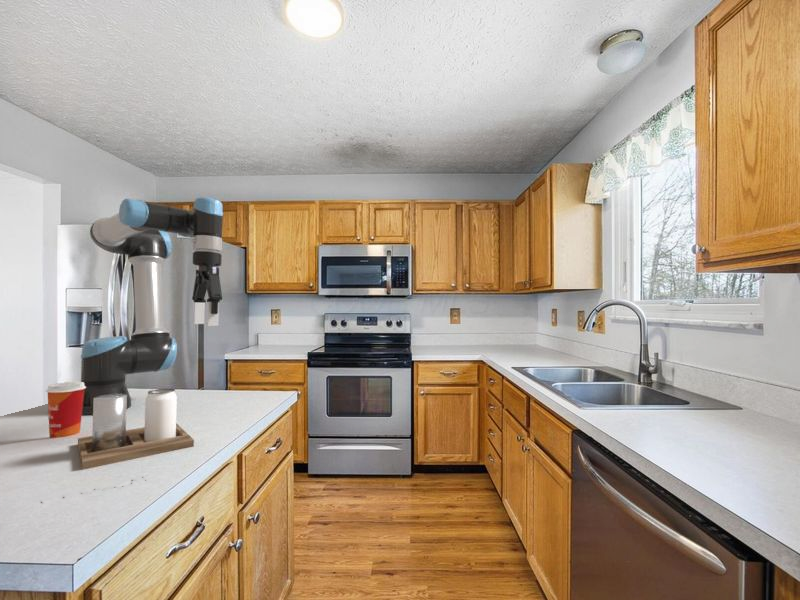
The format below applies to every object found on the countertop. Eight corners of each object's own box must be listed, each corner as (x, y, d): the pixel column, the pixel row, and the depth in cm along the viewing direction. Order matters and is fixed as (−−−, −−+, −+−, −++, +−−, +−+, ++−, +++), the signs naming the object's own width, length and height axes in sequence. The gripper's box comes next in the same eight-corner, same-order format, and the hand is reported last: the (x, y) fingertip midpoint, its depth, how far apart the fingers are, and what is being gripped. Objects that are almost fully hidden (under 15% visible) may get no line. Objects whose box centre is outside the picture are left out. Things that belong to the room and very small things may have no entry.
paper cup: (45, 438, 97) (47, 383, 98) (84, 432, 102) (86, 380, 102) (42, 447, 91) (45, 388, 92) (84, 440, 96) (86, 384, 96)
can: (137, 445, 90) (139, 393, 90) (155, 435, 96) (157, 387, 96) (164, 445, 89) (166, 393, 90) (181, 436, 96) (182, 388, 96)
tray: (77, 451, 89) (77, 438, 89) (175, 433, 103) (175, 422, 103) (82, 477, 76) (82, 461, 76) (193, 452, 89) (193, 439, 89)
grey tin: (90, 450, 86) (92, 396, 86) (123, 444, 90) (124, 392, 90) (92, 458, 82) (94, 401, 82) (127, 451, 86) (128, 397, 86)
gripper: (182, 254, 119) (180, 323, 118) (206, 245, 100) (204, 327, 100) (208, 257, 124) (206, 323, 123) (235, 249, 105) (234, 326, 105)
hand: (205, 325), depth 112 cm, fingers open, 13 cm apart
